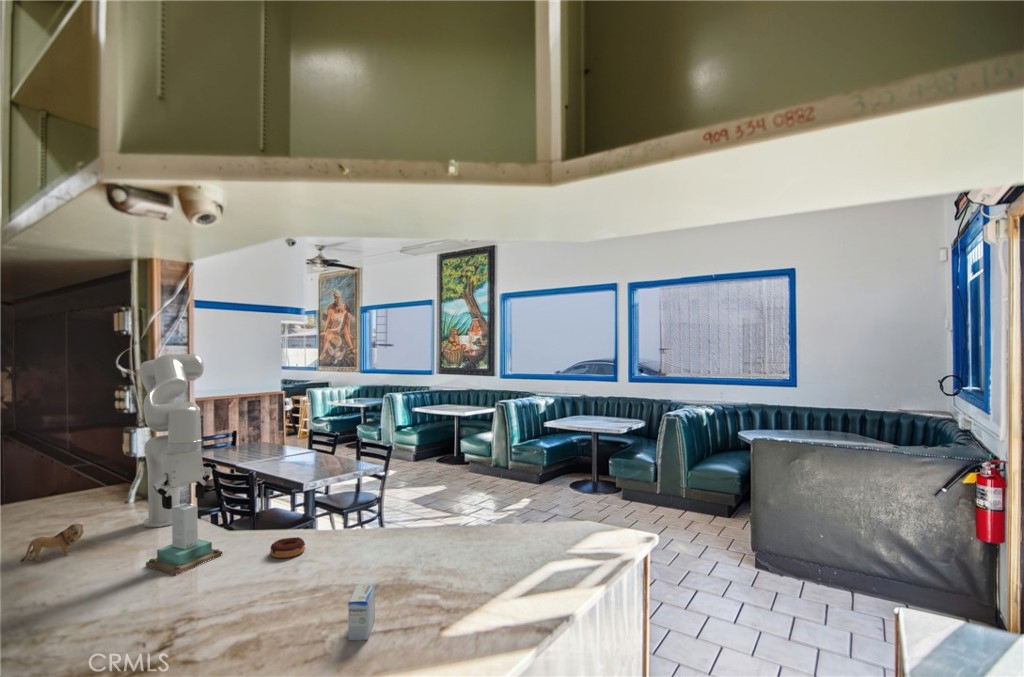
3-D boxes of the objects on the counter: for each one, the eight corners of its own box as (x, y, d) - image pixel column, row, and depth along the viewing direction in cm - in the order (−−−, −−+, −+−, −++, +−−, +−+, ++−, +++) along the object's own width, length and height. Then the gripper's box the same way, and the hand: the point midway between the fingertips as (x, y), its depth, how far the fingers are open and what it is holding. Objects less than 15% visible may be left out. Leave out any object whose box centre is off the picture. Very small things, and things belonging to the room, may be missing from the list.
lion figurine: (84, 547, 161) (83, 519, 160) (83, 553, 156) (83, 524, 156) (20, 561, 151) (19, 531, 151) (18, 567, 147) (17, 537, 147)
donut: (311, 547, 159) (311, 535, 159) (295, 561, 150) (294, 548, 150) (281, 546, 160) (281, 534, 160) (263, 560, 151) (263, 546, 151)
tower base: (193, 547, 159) (192, 533, 159) (222, 555, 154) (222, 540, 154) (145, 566, 147) (145, 551, 147) (176, 575, 141) (175, 559, 141)
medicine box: (356, 620, 117) (355, 584, 117) (375, 619, 118) (375, 583, 118) (348, 641, 109) (347, 602, 109) (368, 640, 110) (368, 601, 110)
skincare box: (198, 544, 151) (198, 505, 151) (184, 550, 147) (183, 509, 147) (185, 541, 153) (185, 502, 153) (171, 546, 150) (171, 507, 150)
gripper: (203, 440, 159) (203, 492, 160) (144, 452, 144) (145, 510, 144) (218, 442, 156) (219, 496, 157) (161, 455, 141) (161, 515, 141)
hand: (183, 503), depth 150 cm, fingers open, 9 cm apart
